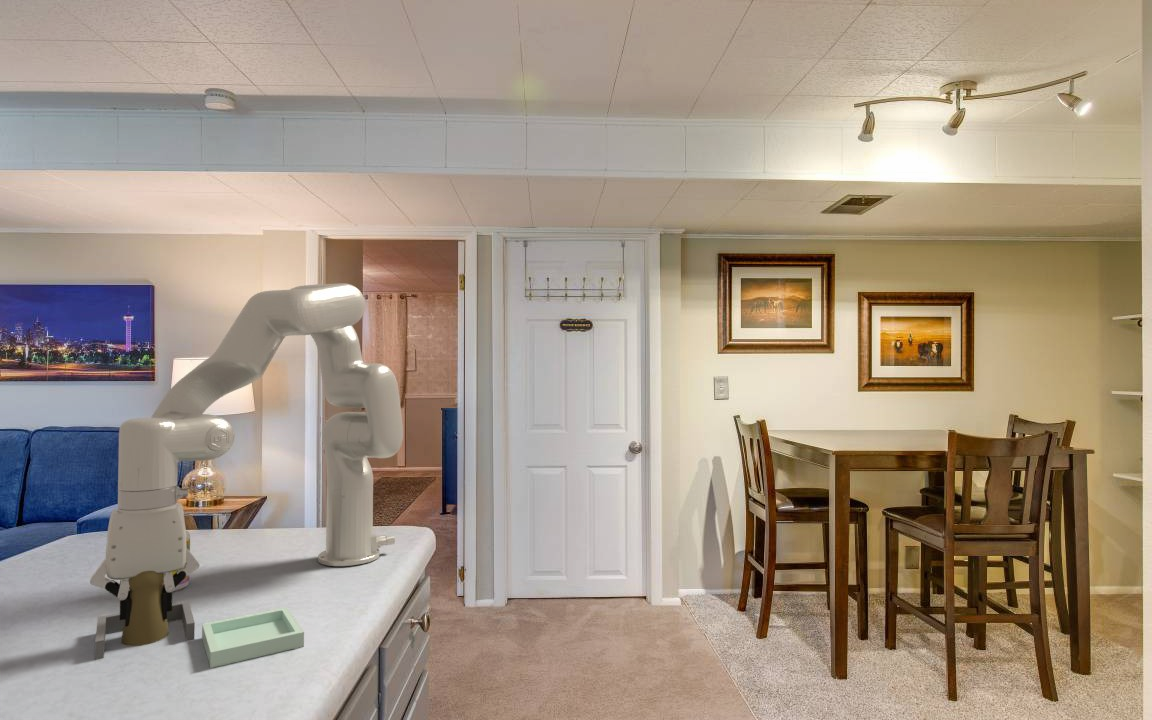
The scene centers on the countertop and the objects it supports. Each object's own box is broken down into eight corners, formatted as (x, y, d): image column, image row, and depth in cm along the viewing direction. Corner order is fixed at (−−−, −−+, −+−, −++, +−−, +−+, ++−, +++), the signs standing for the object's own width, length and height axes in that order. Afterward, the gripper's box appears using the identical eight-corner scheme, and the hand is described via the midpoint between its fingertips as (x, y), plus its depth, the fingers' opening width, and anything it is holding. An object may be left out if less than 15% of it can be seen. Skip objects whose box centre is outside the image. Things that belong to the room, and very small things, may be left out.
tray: (287, 620, 103) (287, 607, 103) (303, 646, 94) (304, 632, 94) (201, 637, 96) (202, 623, 96) (210, 668, 87) (210, 652, 87)
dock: (188, 616, 105) (188, 600, 105) (194, 639, 96) (194, 622, 96) (97, 633, 98) (98, 616, 98) (94, 659, 89) (95, 641, 89)
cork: (136, 629, 99) (137, 559, 99) (176, 628, 100) (178, 558, 100) (111, 646, 93) (112, 571, 93) (154, 645, 94) (156, 570, 94)
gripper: (208, 489, 105) (206, 601, 104) (80, 501, 95) (78, 624, 95) (213, 497, 99) (211, 615, 98) (77, 510, 89) (74, 642, 89)
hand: (146, 618), depth 97 cm, fingers closed on cork, 3 cm apart
